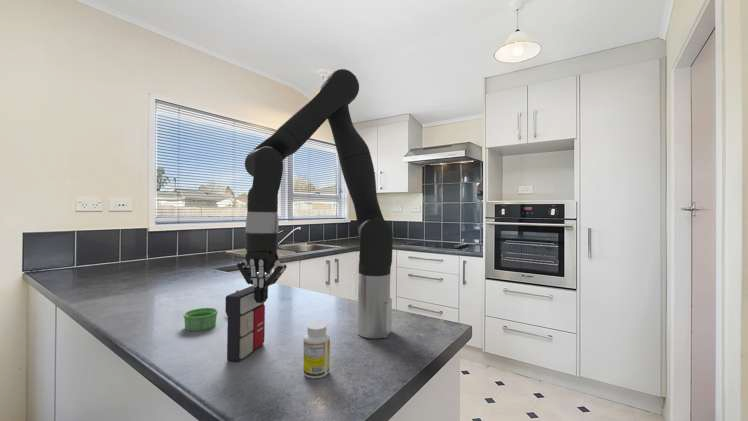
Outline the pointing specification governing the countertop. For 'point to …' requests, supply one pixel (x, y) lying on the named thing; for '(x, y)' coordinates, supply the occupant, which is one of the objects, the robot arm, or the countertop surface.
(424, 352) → the countertop surface
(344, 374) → the countertop surface
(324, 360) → the supplement bottle
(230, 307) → the calculator
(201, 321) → the ramekin
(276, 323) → the countertop surface
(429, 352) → the countertop surface
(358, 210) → the robot arm
